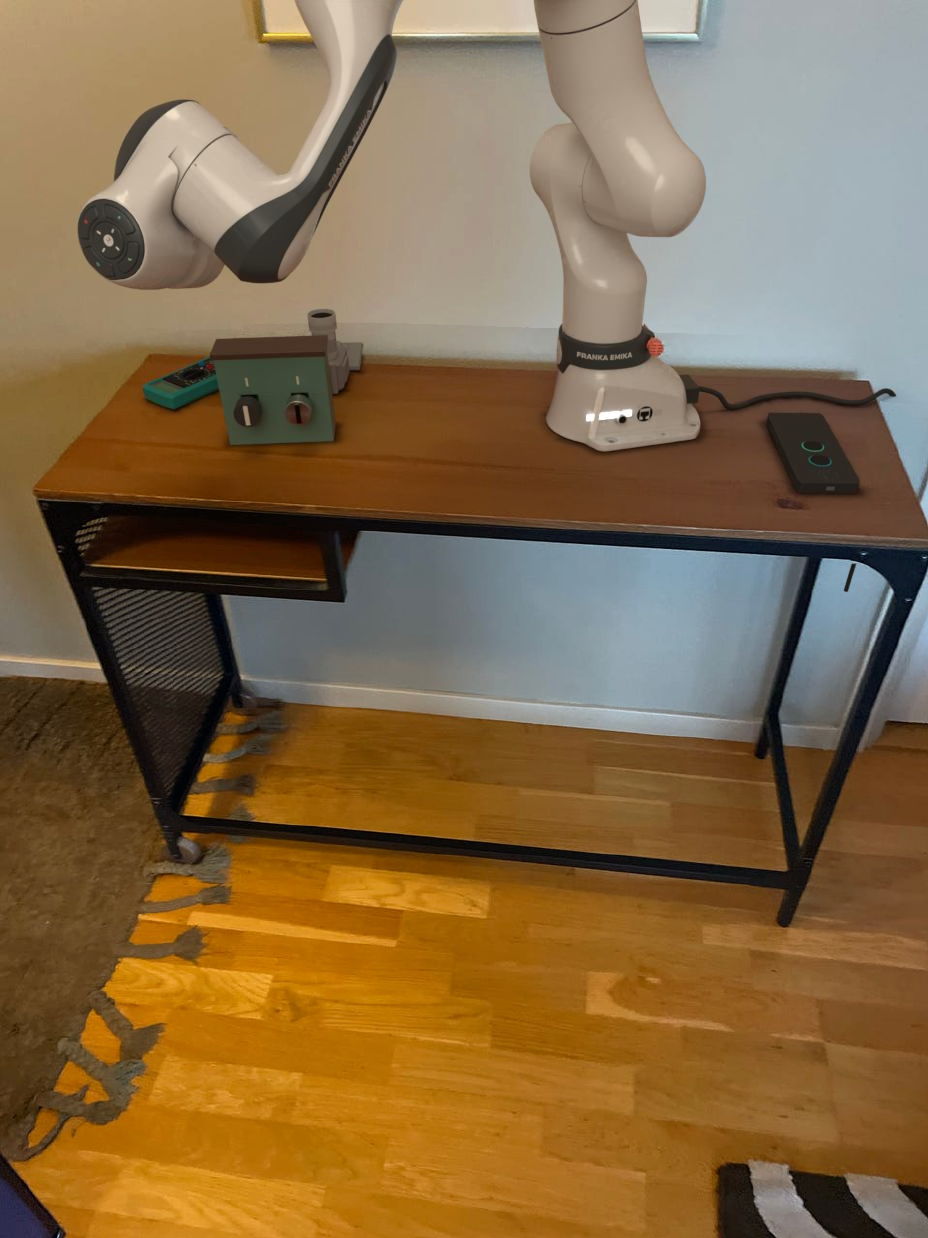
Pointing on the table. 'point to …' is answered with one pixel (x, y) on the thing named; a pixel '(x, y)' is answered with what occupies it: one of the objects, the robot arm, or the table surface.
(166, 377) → the digital multimeter
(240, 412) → the black knob
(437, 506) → the table surface
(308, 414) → the steel knob
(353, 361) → the camera
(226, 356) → the console
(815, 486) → the smart home device
